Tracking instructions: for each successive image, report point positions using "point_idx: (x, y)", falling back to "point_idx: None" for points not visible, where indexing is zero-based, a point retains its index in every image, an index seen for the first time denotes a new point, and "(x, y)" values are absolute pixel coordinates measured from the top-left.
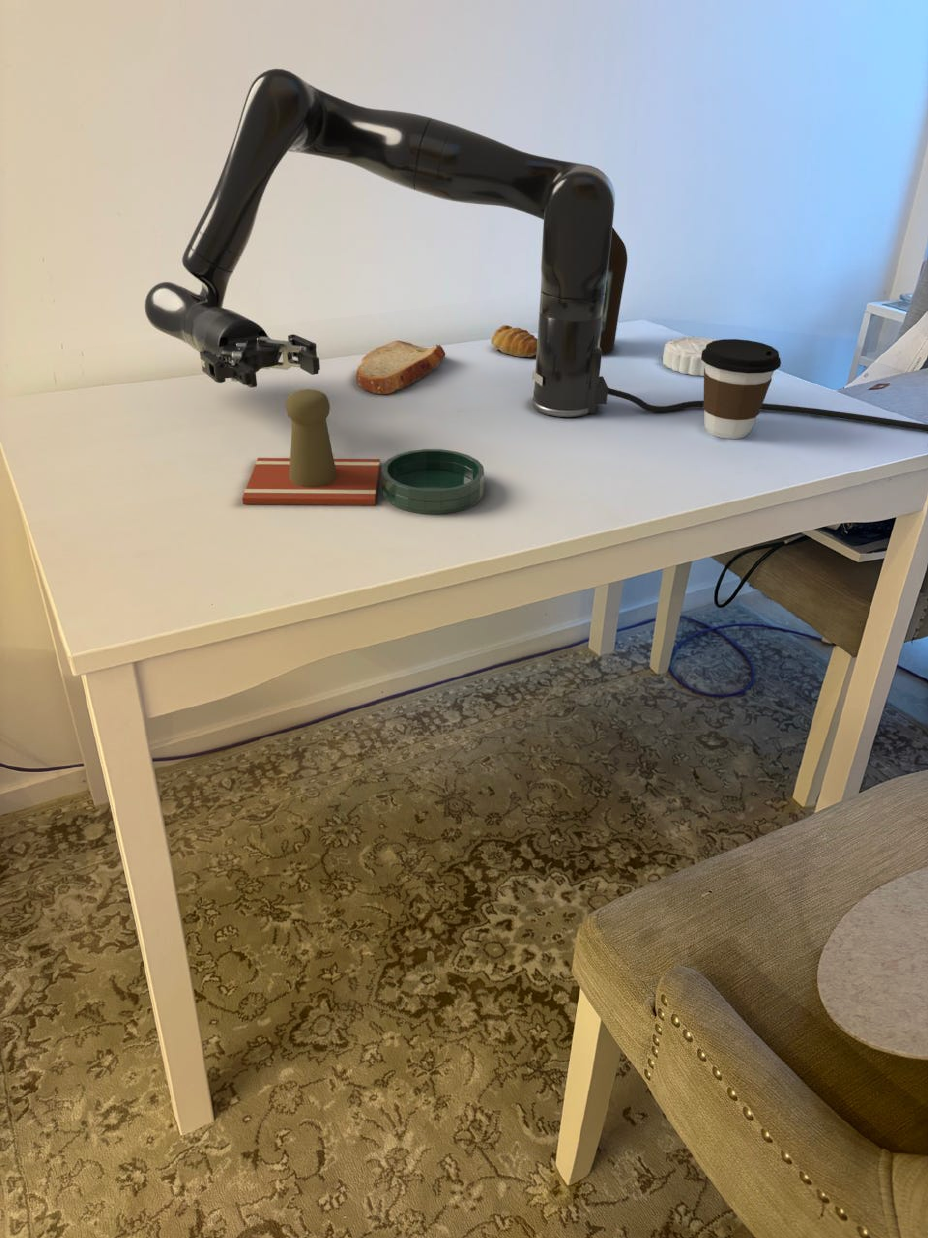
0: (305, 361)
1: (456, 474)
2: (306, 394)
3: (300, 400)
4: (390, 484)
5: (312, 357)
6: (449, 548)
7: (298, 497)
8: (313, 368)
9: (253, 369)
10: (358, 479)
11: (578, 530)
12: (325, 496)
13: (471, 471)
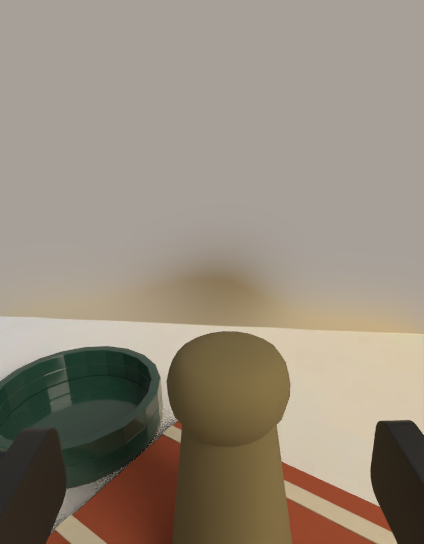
0: (22, 527)
1: (4, 434)
2: (234, 340)
3: (260, 338)
4: (159, 389)
5: (40, 432)
6: (181, 339)
7: (299, 473)
8: (63, 460)
9: (387, 424)
10: (155, 482)
11: (61, 323)
12: None
13: (7, 403)
